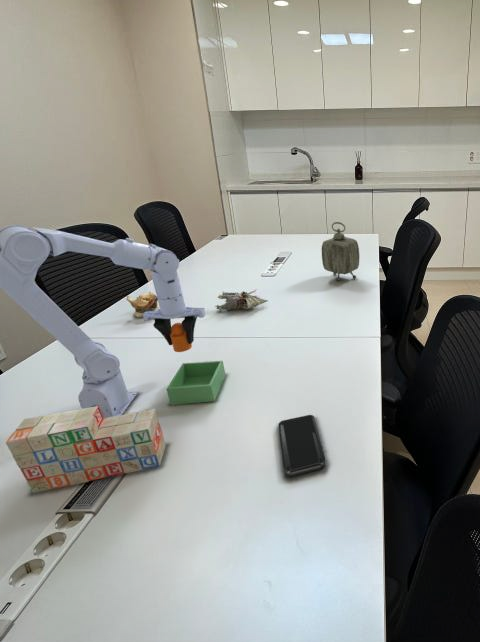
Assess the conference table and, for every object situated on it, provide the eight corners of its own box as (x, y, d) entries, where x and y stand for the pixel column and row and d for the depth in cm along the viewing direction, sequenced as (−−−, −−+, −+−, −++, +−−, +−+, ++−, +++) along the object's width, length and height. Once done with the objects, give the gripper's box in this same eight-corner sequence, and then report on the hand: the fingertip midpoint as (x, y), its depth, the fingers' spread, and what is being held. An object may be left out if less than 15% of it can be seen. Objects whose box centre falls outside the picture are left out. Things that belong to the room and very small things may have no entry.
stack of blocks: (166, 444, 80) (151, 396, 75) (160, 467, 75) (143, 416, 70) (47, 467, 75) (23, 417, 70) (31, 494, 70) (3, 441, 65)
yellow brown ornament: (160, 317, 138) (154, 295, 135) (128, 322, 135) (122, 300, 132) (162, 304, 148) (157, 284, 145) (133, 309, 145) (127, 288, 142)
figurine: (235, 283, 153) (274, 286, 150) (237, 297, 155) (276, 300, 152) (205, 300, 135) (249, 303, 132) (207, 316, 137) (251, 319, 134)
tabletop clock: (360, 278, 170) (358, 221, 160) (348, 284, 163) (345, 226, 153) (334, 273, 178) (330, 218, 167) (321, 279, 171) (317, 222, 160)
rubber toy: (188, 351, 101) (182, 326, 98) (171, 352, 101) (164, 327, 98) (194, 343, 105) (188, 319, 102) (177, 344, 105) (171, 320, 102)
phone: (284, 474, 71) (278, 421, 84) (285, 478, 72) (278, 425, 85) (326, 463, 73) (314, 413, 86) (327, 468, 74) (314, 417, 87)
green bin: (214, 401, 93) (210, 385, 91) (170, 404, 92) (166, 389, 91) (225, 375, 103) (222, 360, 102) (186, 378, 103) (182, 363, 101)
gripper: (204, 287, 101) (213, 333, 106) (146, 291, 100) (159, 337, 105) (196, 298, 95) (206, 346, 100) (133, 301, 93) (148, 350, 99)
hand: (181, 342), depth 102 cm, fingers closed on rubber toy, 4 cm apart
